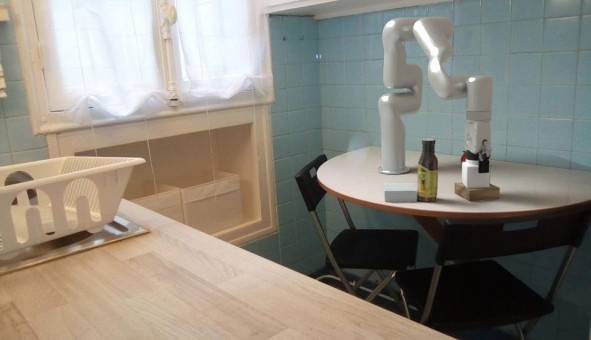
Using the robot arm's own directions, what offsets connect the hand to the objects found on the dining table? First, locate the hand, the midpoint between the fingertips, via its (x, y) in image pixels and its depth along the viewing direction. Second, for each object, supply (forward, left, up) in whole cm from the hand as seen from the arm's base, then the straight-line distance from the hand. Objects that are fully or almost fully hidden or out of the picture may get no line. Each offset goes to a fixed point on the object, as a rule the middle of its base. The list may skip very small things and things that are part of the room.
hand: (477, 169), depth 151 cm
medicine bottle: (0, 0, -5) cm, 5 cm away
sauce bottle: (+1, -16, -9) cm, 19 cm away
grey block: (-4, -24, -9) cm, 26 cm away
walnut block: (0, 0, -9) cm, 9 cm away
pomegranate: (-39, +14, -9) cm, 42 cm away
